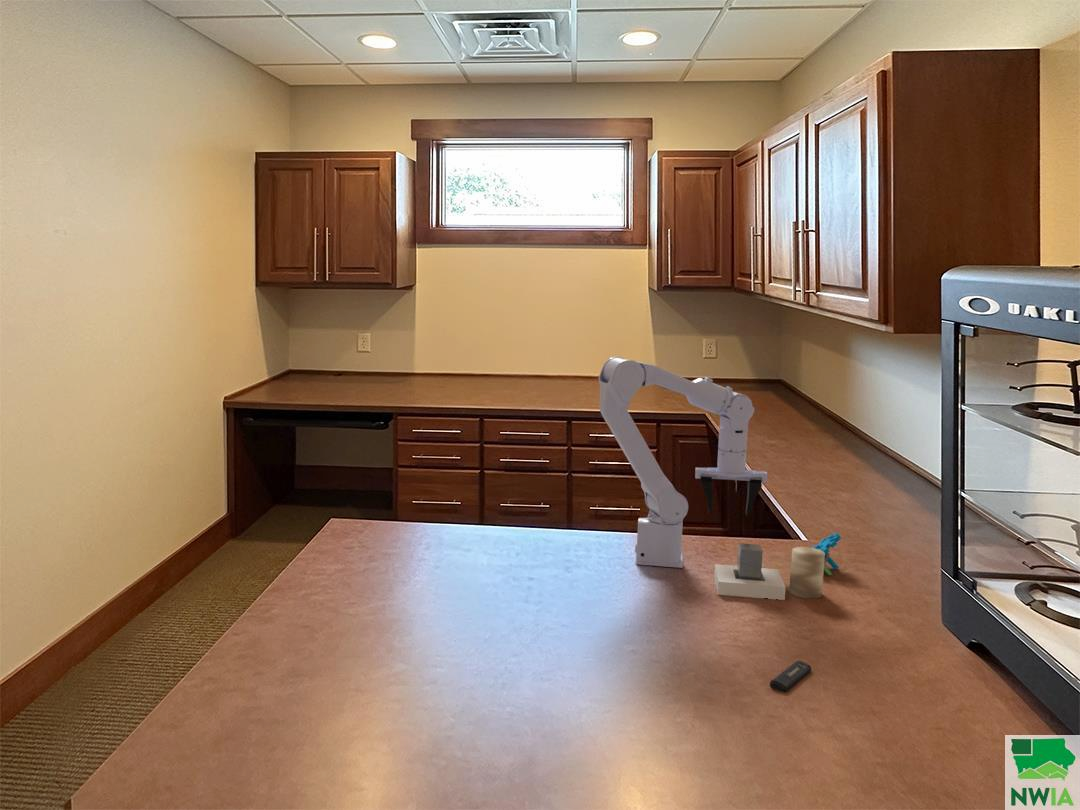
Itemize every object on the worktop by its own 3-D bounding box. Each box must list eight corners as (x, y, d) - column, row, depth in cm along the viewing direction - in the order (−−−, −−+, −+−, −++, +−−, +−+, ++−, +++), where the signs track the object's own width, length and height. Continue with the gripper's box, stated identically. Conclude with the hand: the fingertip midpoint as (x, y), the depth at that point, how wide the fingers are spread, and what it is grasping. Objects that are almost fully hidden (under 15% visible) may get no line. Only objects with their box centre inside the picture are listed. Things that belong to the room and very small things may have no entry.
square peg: (738, 590, 148) (740, 549, 147) (736, 583, 151) (738, 543, 150) (759, 592, 147) (762, 550, 146) (757, 584, 151) (760, 544, 150)
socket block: (717, 594, 145) (718, 581, 145) (714, 576, 155) (714, 564, 154) (784, 600, 143) (785, 587, 143) (776, 581, 153) (777, 569, 153)
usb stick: (785, 696, 108) (786, 685, 108) (767, 689, 110) (768, 679, 110) (812, 673, 115) (813, 663, 115) (795, 667, 117) (796, 657, 117)
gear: (802, 549, 169) (839, 524, 164) (822, 570, 168) (859, 546, 163) (792, 570, 159) (830, 544, 154) (812, 593, 159) (852, 567, 153)
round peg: (791, 597, 145) (794, 555, 144) (786, 586, 151) (789, 545, 150) (824, 599, 144) (827, 557, 143) (818, 588, 150) (821, 548, 149)
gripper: (697, 451, 160) (693, 516, 162) (770, 455, 158) (766, 520, 159) (696, 445, 167) (693, 507, 169) (766, 449, 164) (762, 512, 166)
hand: (728, 513), depth 164 cm, fingers open, 7 cm apart
